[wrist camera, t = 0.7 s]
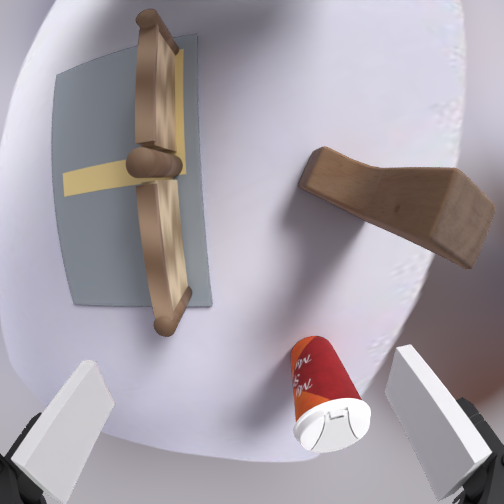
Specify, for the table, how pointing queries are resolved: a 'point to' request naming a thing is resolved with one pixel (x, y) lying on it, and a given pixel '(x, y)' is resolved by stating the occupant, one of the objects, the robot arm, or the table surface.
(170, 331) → the fence gate
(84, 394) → the robot arm
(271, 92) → the table surface
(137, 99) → the fence fixed
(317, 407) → the paper cup
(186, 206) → the card
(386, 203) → the wooden block
